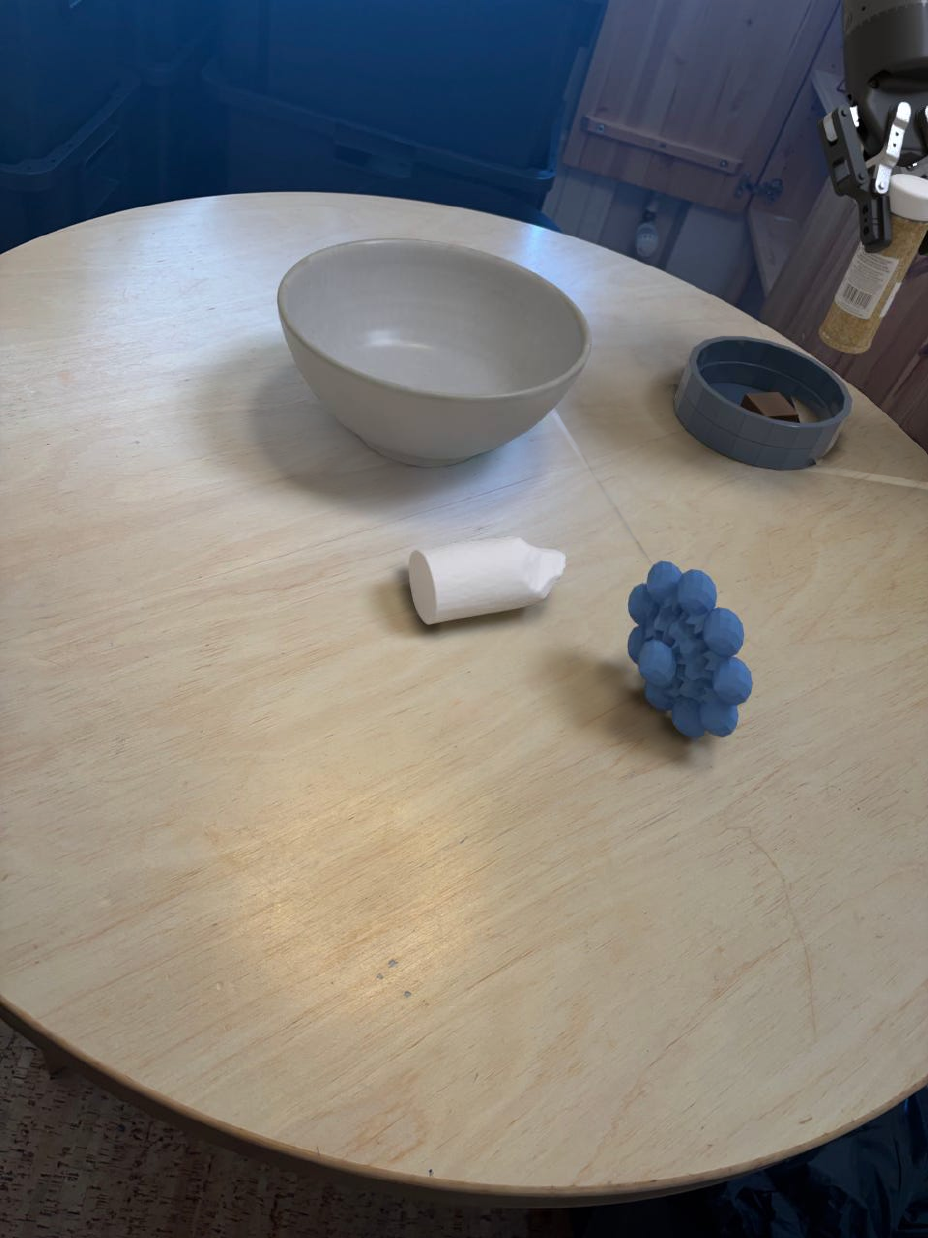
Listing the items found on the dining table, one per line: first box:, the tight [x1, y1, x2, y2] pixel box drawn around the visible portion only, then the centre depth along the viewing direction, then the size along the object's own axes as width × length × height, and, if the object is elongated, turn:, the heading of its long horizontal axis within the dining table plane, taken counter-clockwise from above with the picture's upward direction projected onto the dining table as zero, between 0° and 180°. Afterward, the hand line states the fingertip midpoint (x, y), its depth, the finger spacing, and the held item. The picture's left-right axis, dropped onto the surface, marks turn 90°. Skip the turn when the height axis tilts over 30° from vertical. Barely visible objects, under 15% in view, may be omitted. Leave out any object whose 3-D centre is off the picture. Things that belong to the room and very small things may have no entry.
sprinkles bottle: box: [818, 173, 928, 355], centre depth 77 cm, size 5×5×13 cm
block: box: [740, 392, 800, 422], centre depth 95 cm, size 4×4×4 cm
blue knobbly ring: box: [627, 560, 754, 740], centre depth 64 cm, size 12×7×12 cm, turn 33°
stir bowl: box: [672, 335, 853, 471], centre depth 97 cm, size 17×17×6 cm
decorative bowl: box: [276, 237, 592, 468], centre depth 85 cm, size 27×27×12 cm
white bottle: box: [408, 535, 567, 625], centre depth 72 cm, size 6×12×6 cm, turn 111°
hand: (905, 250), depth 74 cm, fingers closed on sprinkles bottle, 4 cm apart
